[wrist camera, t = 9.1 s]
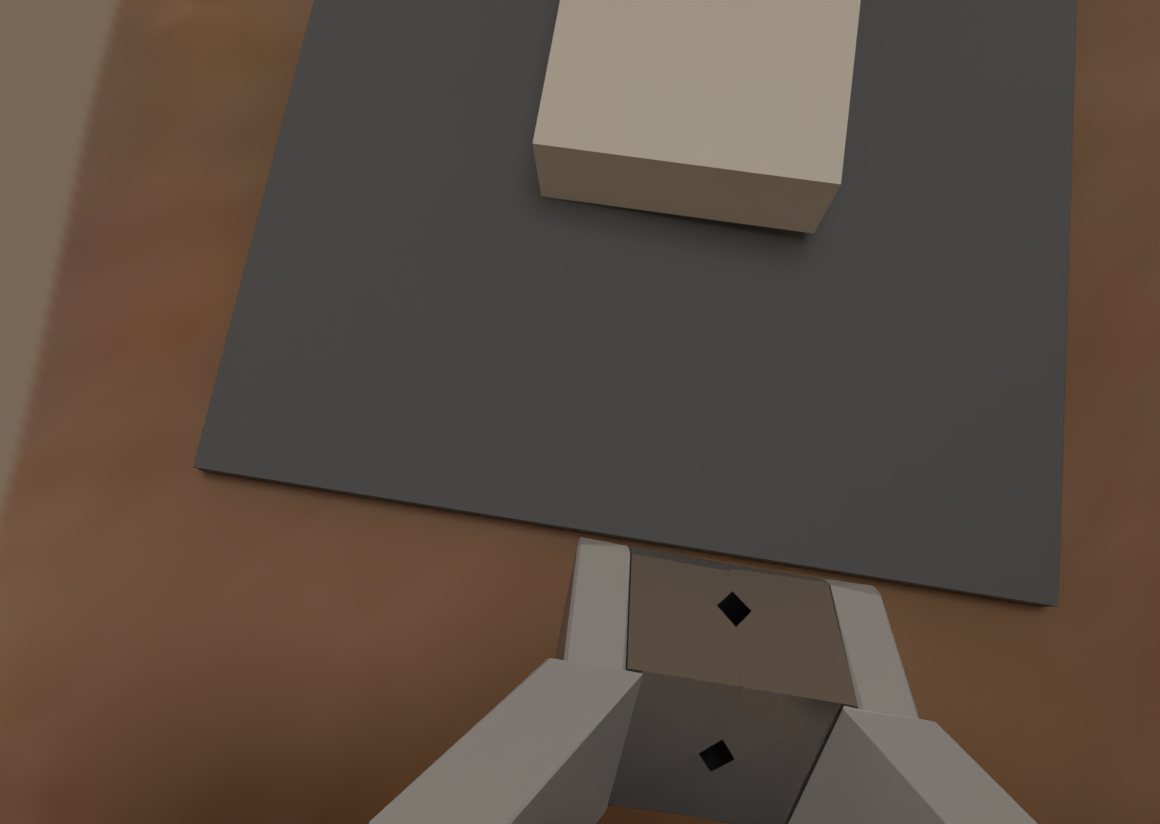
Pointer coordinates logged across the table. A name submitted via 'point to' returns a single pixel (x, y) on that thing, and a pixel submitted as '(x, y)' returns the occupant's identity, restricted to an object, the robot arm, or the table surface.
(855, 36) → the card box
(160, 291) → the table surface
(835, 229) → the mat
